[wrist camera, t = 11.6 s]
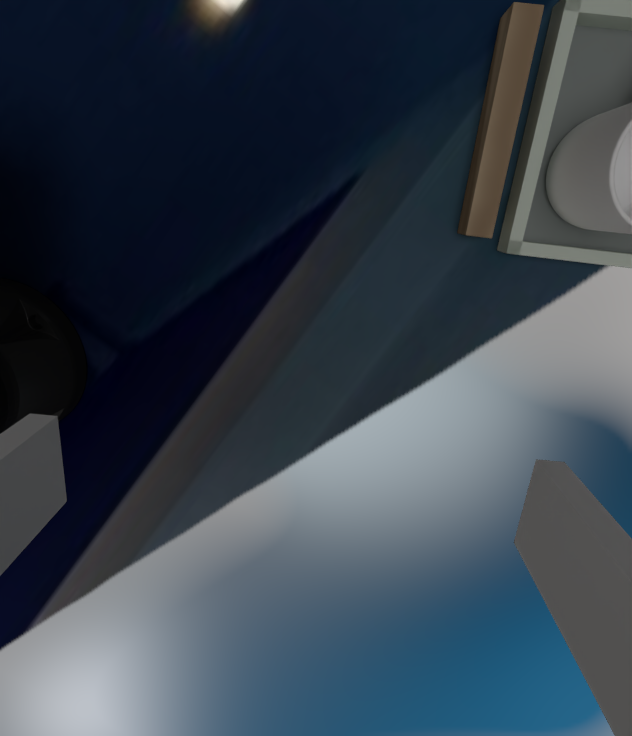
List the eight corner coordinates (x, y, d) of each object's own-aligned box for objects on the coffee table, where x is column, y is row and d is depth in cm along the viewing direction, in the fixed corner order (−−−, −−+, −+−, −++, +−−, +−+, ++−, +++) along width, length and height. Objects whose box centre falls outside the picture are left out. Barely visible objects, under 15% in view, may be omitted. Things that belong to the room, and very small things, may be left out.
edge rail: (457, 232, 39) (465, 235, 36) (500, 18, 34) (513, 2, 32) (481, 235, 39) (491, 238, 36) (528, 21, 34) (544, 5, 31)
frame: (496, 250, 40) (506, 253, 37) (552, 7, 34) (568, -8, 32) (655, 269, 39) (674, 273, 37) (737, 26, 34) (767, 13, 31)
